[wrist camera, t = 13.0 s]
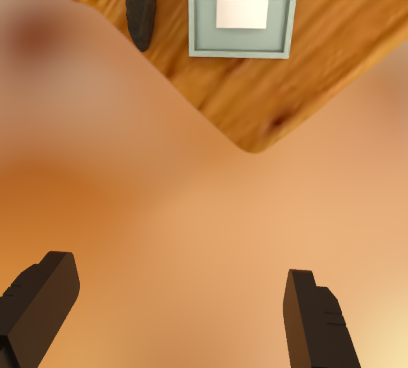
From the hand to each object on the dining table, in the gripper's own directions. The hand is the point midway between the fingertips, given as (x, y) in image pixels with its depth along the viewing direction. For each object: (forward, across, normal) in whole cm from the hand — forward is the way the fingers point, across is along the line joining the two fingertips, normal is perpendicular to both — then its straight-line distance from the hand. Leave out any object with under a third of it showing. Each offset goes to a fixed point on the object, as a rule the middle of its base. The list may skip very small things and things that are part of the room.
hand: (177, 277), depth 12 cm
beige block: (+33, -2, -10) cm, 34 cm away
